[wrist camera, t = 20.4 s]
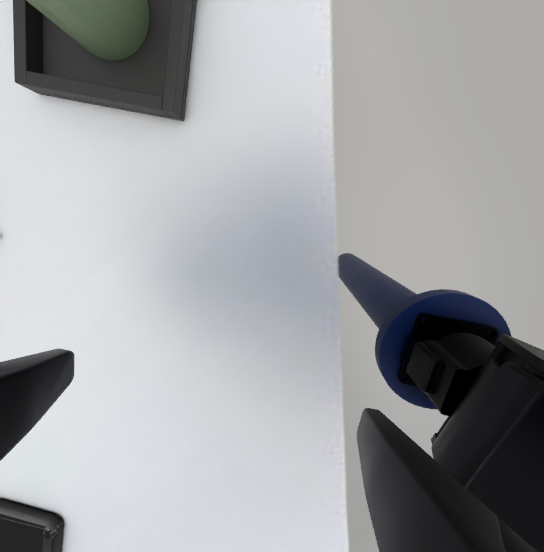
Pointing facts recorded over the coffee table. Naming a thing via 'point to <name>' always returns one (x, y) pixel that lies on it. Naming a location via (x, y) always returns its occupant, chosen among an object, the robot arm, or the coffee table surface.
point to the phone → (28, 529)
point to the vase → (100, 24)
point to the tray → (109, 62)
